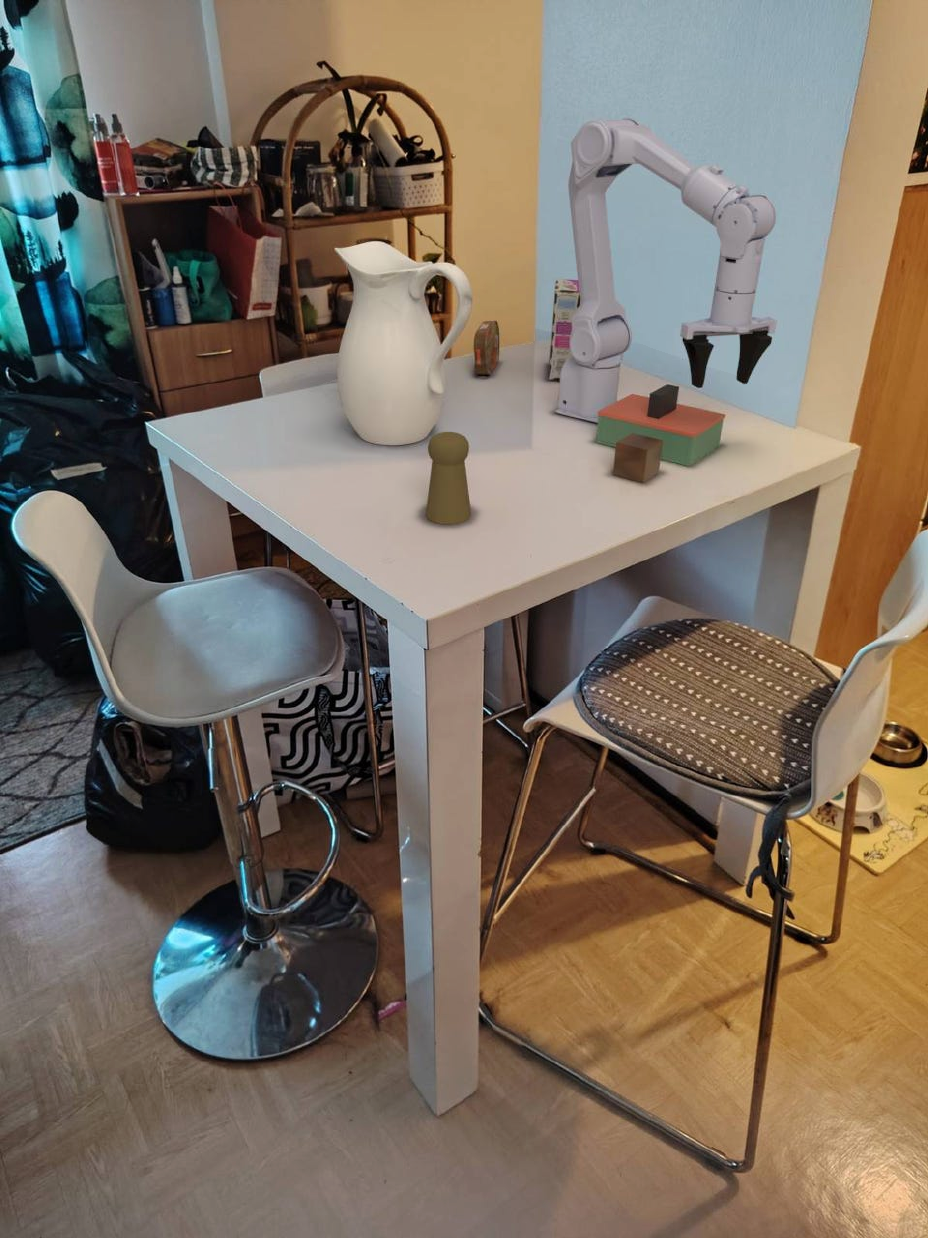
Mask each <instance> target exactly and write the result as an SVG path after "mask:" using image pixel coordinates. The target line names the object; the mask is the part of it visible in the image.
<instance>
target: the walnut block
mask: <svg viewBox="0 0 928 1238" xmlns="http://www.w3.org/2000/svg"><path fill="white" fill-rule="evenodd" d="M662 446H663V440H659V439H655V438H651V437H647V436H643V435H639V434H635V433H631V434H630V435H628V436H626V437H624V438H623V439H621V440H619V441H618V442H616V447H614V448H615V449H614V458H613V466H612V467H613V468H612V476H615V477H619V478H622V479H627V480H631V481H634V482H636V483H637V482H638V483H641V484H644V483H646V482H648V481H649V480H651V478H653V477H654V476H656V475H658V474H659V473H660V467H661V460H662V459H661V453H662Z"/></svg>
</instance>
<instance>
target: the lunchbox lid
mask: <svg viewBox="0 0 928 1238" xmlns="http://www.w3.org/2000/svg"><path fill="white" fill-rule="evenodd" d="M679 389H680V386H679V385H674V384H668V383H666V384H665V385H663V386H662V387H659V388H657V389H656V390H654V391H652V392H650V393H649V396H645V395H640V394H635V393H630V394H629V395H627V396H625V397H623V398H621V399H619V400H617V402H615V403H613V404H611V405H609V406H607V407H606V408H604V409H602V410H600V411H598V415H600V416H605V417H609V418H613V419H617V420H621V421H625V422H630V423H634V424H638V425H642V426H646V427H650V428H655V429H659V430H663V431H667V432H671V433H675V434H680V435H684V436H688V437H692V438H695V437H696V436H698V435H699V434H701V433H703V432H704V431H706V430H707V429H709V428H710V427H712V426H713V425H715V424H716V423H718V422H719V421H721V420H722V419H724V420H725V419H726V414H725V413H721V412H717V411H712V410H708V409H704V408H703V409H702V408H698V407H695V406H694V407H693V406H690V405H685V404H680V403H678V397H679V392H680V391H679Z"/></svg>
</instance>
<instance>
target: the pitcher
mask: <svg viewBox="0 0 928 1238" xmlns="http://www.w3.org/2000/svg"><path fill="white" fill-rule="evenodd" d="M333 249H334V251H335V253H336V254H337V255H338V257H339V258H340V259H341V261H342V262H343V264H344V265H345V267H346V268H347V270H348V272H349V274H350V276H351V279H352V284H353V295H352V296H353V297H352V304H351V307H350V312H349V315H348V319H347V321H346V324H345V328H344V332H343V335H342V338H341V342H340V345H339V352H338V357H337V365H336V366H337V367H336V368H337V369H336V381H337V391H338V396H339V400H340V403H341V407H342V409H343V411H344V413H345V416H346V417H347V419H348V421H349V424H350V425H351V426H352V428H353V430H354V431H355V432H356V434H357V435H358V436H359V437H360V438H361V439H362V440H364V441H365V442H368V443H370V444H374V445H380V446H405V445H409V444H416V443H418V442H421V441H422V440H424V439H426V438H427V437H428V436H429V435H430V433H431V431H432V430H433V428H434V426H435V425H436V423H437V421H438V419H439V416H440V414H441V412H442V410H443V406H444V402H445V398H446V392H447V391H446V390H447V368H446V367H447V366H446V360H445V357H446V356H447V354H448V353H449V352H450V350H451V348H452V347H453V346H454V344H455V343H456V342H457V340H458V338H459V337H460V336H461V334H462V332H463V331H464V329H465V327H466V325H467V323H468V321H469V319H470V317H471V312H472V308H473V291H472V287H471V284H470V281H469V279H468V277H467V275H466V274H465V273H464V271H463V270H462V269H461V268H460V267H458V266H457V265H455V264H453V263H449V262H442V261H441V262H435V263H434V262H432V261H424V262H418V261H415V260H413V259H412V258H410V257H408V256H407V255H405V253H403V252H401V251H399V250H398V249H397V248H395V247H394V246H392V245H390V244H388V243H386V242H384V241H379V240H375V241H366V242H362V243H358V244H355V245H352V246H347V247H334V248H333ZM437 275H440V276H442V277H444V278H446V279H447V280H448V281H450V283H451V284H452V285H453V288H454V289H455V291H456V295H457V309H456V310H457V311H456V314H455V319H454V321H453V324H452V326H451V327H450V329H449V331H448V333H447V334H446V336H445V338H444V340H443V341H442V343H441V341H440V338H439V334H438V332H437V330H436V327H435V323H434V322H433V319H432V316H431V313H430V311H429V308H428V306H427V301H426V298H425V292H426V287H427V285H428V283H429V282H430V281H431V280H432V279H433V278H434V277H436V276H437Z"/></svg>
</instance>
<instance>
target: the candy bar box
mask: <svg viewBox="0 0 928 1238" xmlns="http://www.w3.org/2000/svg"><path fill="white" fill-rule="evenodd" d="M554 283H555V284H554V292H553V293H554V294H553V306H552V318H551V319H552V321H551V333H550V334H551V335H550V346H549V347H550V349H549V361H548V380H549V381H554V382H555V381H557V382H560V375H561V370H562V368H563V365H564V363H565V362H566V361H567V360H568V359H569V358H571V357H573V356H572V354H571V352H570V347H569V339H570V335H571V331H572V324H571V319H572V317H573V315H574V314H575V312H576V311H577V309H578V308H579V306H580V304H581V301H580V292H579V283H578V279H561V278H560V279H557V278H556V279H555V282H554Z"/></svg>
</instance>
